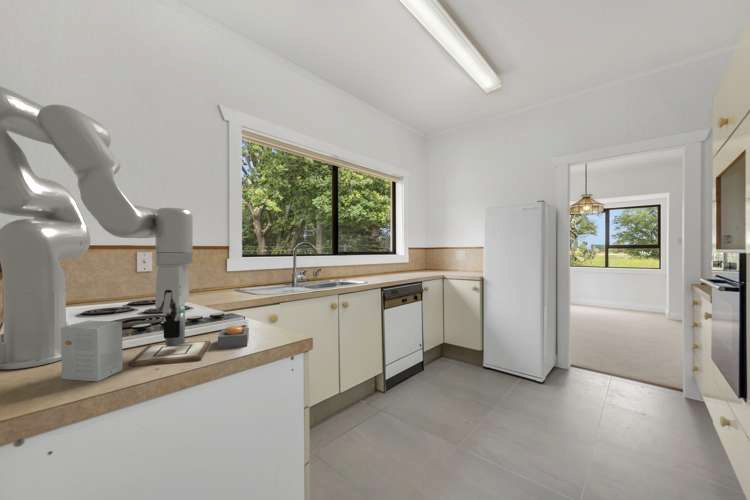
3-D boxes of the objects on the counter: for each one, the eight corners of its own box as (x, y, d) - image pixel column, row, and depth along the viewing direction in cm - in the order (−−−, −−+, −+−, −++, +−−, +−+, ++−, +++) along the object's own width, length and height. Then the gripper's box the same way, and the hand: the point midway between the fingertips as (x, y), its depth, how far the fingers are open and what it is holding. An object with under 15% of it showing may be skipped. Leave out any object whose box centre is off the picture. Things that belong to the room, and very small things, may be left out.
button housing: (217, 348, 80) (217, 336, 80) (221, 340, 87) (221, 329, 87) (247, 346, 83) (247, 335, 83) (248, 338, 89) (248, 327, 89)
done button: (225, 337, 82) (225, 330, 82) (227, 333, 86) (227, 326, 86) (241, 336, 84) (241, 329, 84) (242, 332, 87) (242, 325, 87)
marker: (162, 346, 73) (162, 304, 73) (168, 341, 77) (168, 301, 77) (182, 345, 75) (182, 303, 74) (186, 340, 79) (186, 300, 78)
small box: (123, 370, 66) (123, 321, 66) (97, 382, 60) (97, 328, 60) (89, 368, 67) (89, 319, 66) (60, 379, 61) (60, 326, 61)
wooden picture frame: (128, 366, 68) (128, 362, 68) (148, 348, 79) (148, 344, 79) (200, 360, 73) (200, 356, 73) (210, 343, 84) (210, 340, 84)
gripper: (167, 257, 82) (167, 326, 83) (142, 262, 66) (143, 347, 67) (199, 257, 84) (199, 324, 85) (183, 262, 69) (183, 344, 69)
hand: (174, 333), depth 76 cm, fingers closed on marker, 4 cm apart
